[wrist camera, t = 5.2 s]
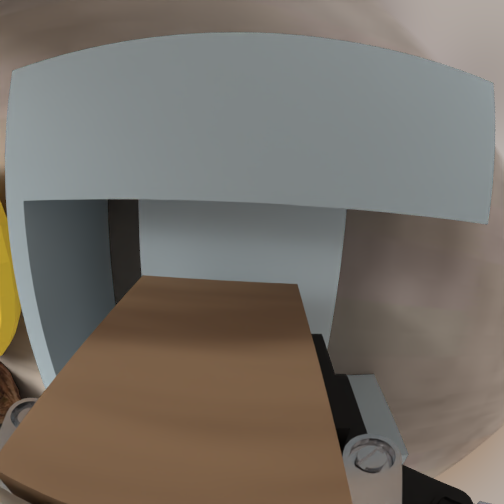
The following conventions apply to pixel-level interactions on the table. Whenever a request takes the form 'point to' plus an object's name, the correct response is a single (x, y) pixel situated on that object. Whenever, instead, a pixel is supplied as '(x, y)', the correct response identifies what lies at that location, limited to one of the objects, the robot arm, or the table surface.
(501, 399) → the table surface
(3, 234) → the yellow piece
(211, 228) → the slot box
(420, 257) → the table surface
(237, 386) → the walnut block
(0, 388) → the driftwood
